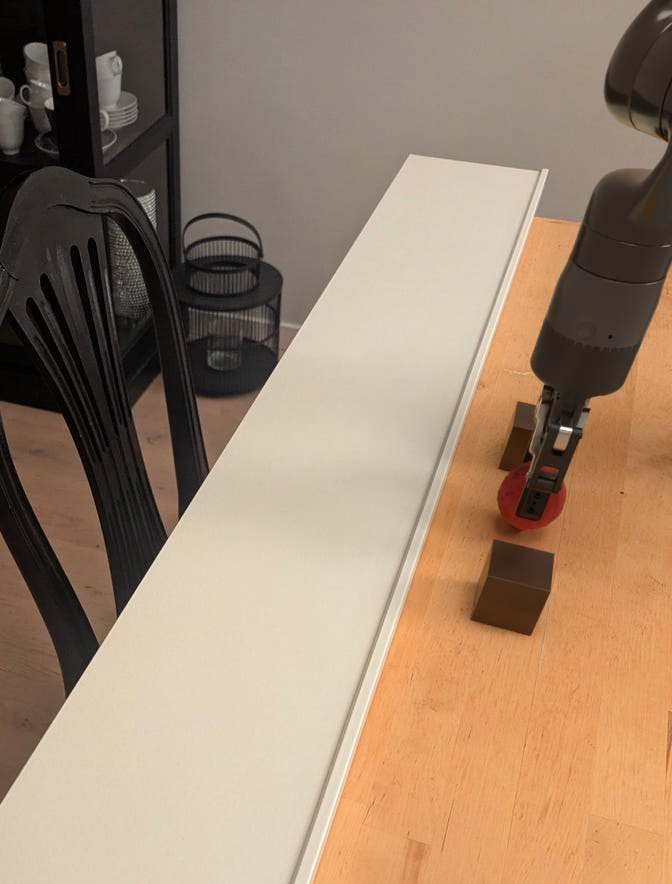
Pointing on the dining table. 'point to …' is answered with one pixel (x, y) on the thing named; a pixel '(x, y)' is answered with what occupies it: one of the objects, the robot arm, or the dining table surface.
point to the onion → (511, 495)
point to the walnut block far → (517, 436)
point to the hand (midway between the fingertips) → (530, 489)
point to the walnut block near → (513, 587)
